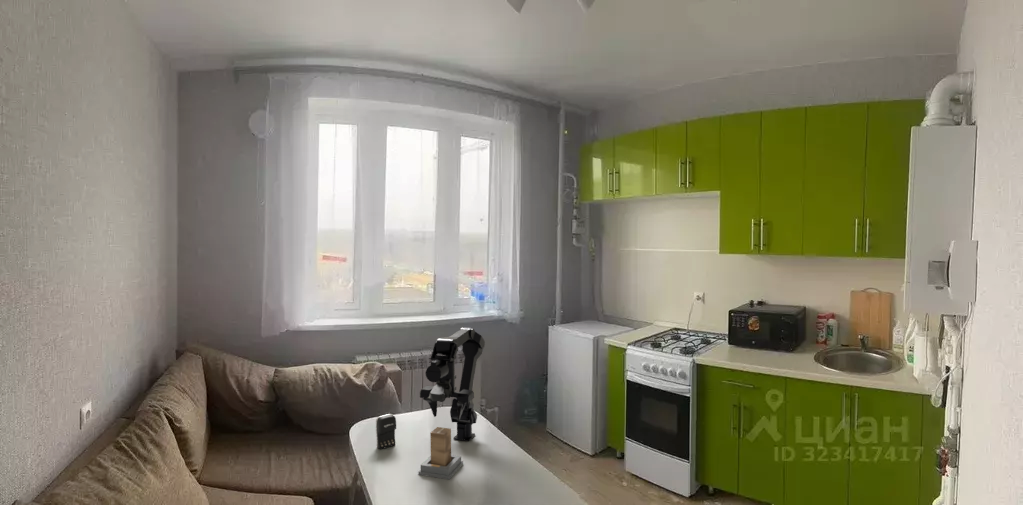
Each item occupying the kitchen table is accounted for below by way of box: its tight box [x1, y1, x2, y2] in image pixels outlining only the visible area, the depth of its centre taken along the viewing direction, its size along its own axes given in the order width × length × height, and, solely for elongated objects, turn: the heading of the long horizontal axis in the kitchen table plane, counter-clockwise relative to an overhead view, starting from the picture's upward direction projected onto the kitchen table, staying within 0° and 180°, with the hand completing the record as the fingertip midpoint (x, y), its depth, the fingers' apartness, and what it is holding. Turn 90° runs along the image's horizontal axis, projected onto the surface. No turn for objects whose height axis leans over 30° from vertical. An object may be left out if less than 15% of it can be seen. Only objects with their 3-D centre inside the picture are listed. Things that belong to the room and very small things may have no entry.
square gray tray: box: [417, 454, 464, 480], centre depth 167 cm, size 11×11×3 cm
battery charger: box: [375, 413, 397, 450], centre depth 185 cm, size 7×4×11 cm, turn 128°
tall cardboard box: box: [430, 426, 452, 466], centre depth 167 cm, size 5×5×12 cm
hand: (446, 417), depth 178 cm, fingers open, 9 cm apart
